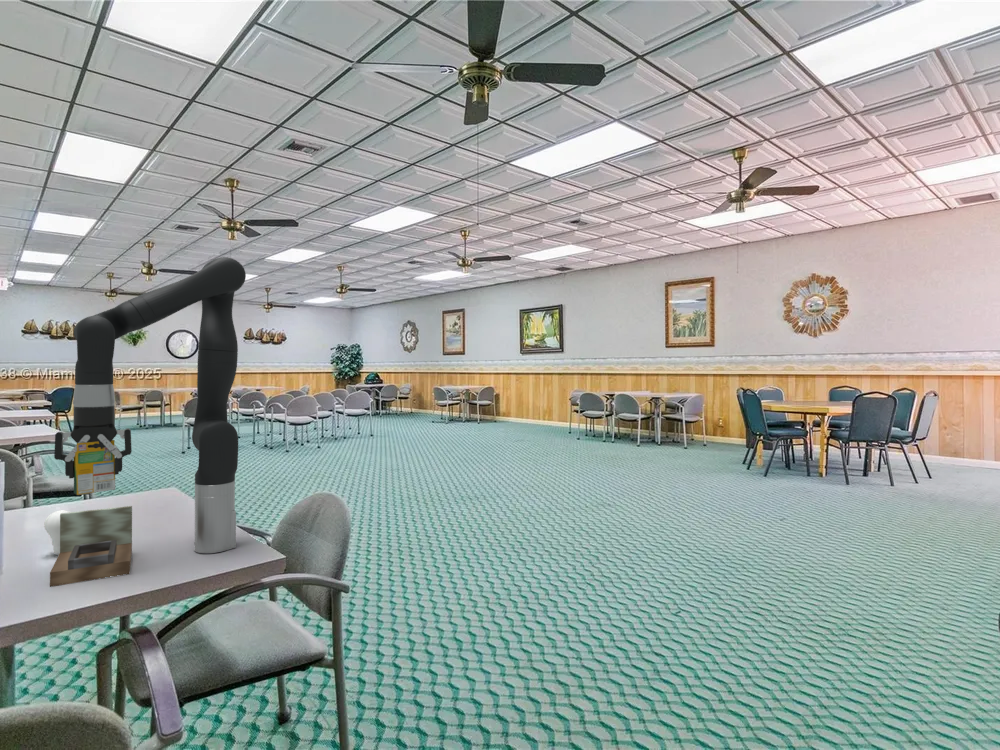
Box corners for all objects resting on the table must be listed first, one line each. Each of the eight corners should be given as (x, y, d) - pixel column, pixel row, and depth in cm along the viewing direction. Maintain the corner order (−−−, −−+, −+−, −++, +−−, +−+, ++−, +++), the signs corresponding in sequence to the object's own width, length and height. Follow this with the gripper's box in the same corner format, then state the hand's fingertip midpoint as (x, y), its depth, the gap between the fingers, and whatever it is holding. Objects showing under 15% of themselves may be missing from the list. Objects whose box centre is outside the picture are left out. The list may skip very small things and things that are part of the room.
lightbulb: (65, 549, 139) (66, 506, 139) (81, 552, 137) (81, 509, 137) (38, 557, 133) (38, 512, 133) (54, 560, 131) (54, 515, 131)
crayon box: (111, 488, 128) (111, 438, 128) (115, 489, 126) (115, 439, 126) (73, 493, 122) (72, 441, 122) (76, 495, 120) (76, 443, 120)
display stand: (131, 553, 136) (132, 505, 136) (129, 573, 123) (129, 521, 123) (60, 563, 129) (60, 513, 129) (49, 586, 115) (50, 530, 115)
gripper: (132, 402, 131) (132, 470, 131) (56, 404, 123) (56, 476, 123) (132, 404, 124) (131, 475, 125) (51, 406, 117) (51, 482, 117)
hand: (94, 475), depth 124 cm, fingers closed on crayon box, 8 cm apart
